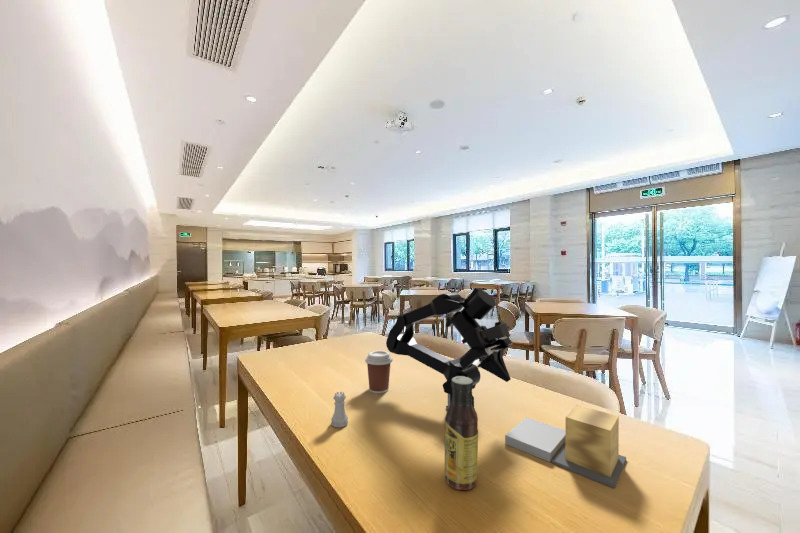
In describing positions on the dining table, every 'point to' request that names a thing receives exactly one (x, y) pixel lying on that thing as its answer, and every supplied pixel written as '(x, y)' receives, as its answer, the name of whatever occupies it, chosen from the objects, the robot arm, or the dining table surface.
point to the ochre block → (592, 439)
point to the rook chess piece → (339, 411)
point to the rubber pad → (589, 473)
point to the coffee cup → (378, 371)
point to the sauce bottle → (461, 436)
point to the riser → (536, 438)
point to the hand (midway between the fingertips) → (508, 380)
